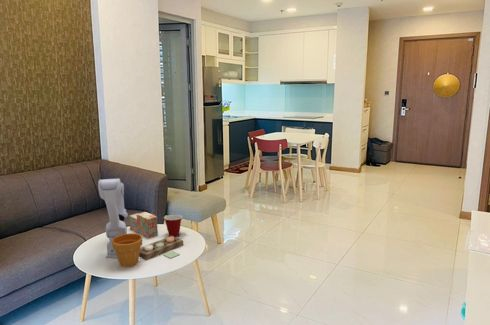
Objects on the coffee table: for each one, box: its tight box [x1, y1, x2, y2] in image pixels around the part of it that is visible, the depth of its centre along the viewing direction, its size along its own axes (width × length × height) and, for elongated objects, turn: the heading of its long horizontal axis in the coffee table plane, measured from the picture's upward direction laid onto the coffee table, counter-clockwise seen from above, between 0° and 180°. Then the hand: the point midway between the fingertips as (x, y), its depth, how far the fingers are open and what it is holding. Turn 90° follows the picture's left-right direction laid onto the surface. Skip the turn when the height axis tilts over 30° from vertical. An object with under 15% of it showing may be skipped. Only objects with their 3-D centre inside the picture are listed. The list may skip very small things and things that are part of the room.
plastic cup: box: [163, 214, 183, 238], centre depth 218 cm, size 11×11×12 cm
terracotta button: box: [165, 236, 174, 243], centre depth 205 cm, size 4×4×3 cm
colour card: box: [162, 250, 181, 259], centre depth 194 cm, size 6×6×1 cm
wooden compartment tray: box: [139, 236, 184, 261], centre depth 200 cm, size 24×10×3 cm, turn 139°
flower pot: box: [112, 232, 143, 268], centre depth 184 cm, size 14×14×13 cm
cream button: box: [143, 244, 153, 252], centre depth 194 cm, size 4×4×3 cm
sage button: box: [156, 242, 164, 248], centre depth 200 cm, size 4×4×3 cm
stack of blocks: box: [128, 211, 159, 239], centre depth 224 cm, size 21×6×12 cm, turn 47°
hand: (120, 226), depth 209 cm, fingers closed
